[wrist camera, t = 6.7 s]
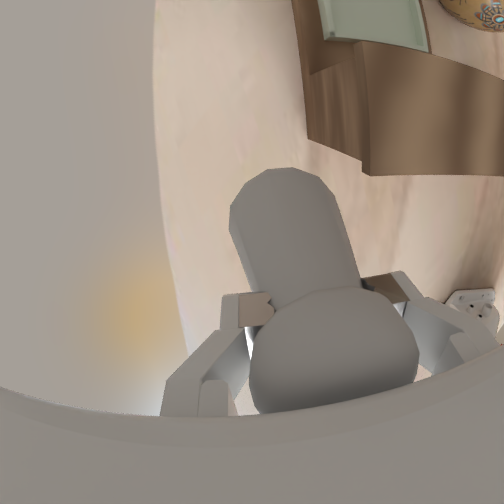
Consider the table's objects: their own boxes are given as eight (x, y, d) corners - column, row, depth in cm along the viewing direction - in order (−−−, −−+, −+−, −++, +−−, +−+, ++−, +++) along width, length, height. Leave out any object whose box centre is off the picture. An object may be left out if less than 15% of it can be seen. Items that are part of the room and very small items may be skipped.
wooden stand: (408, -5, 20) (491, -34, 5) (425, 143, 30) (519, 177, 15) (283, -25, 19) (321, -102, 5) (304, 143, 30) (370, 176, 15)
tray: (405, -15, 17) (413, -19, 15) (419, 53, 22) (428, 52, 20) (310, -34, 17) (314, -41, 15) (324, 40, 21) (329, 36, 20)
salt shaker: (209, 207, 17) (159, 417, 5) (280, 138, 15) (407, 248, 3) (277, 266, 19) (315, 465, 7) (344, 208, 17) (472, 377, 5)
